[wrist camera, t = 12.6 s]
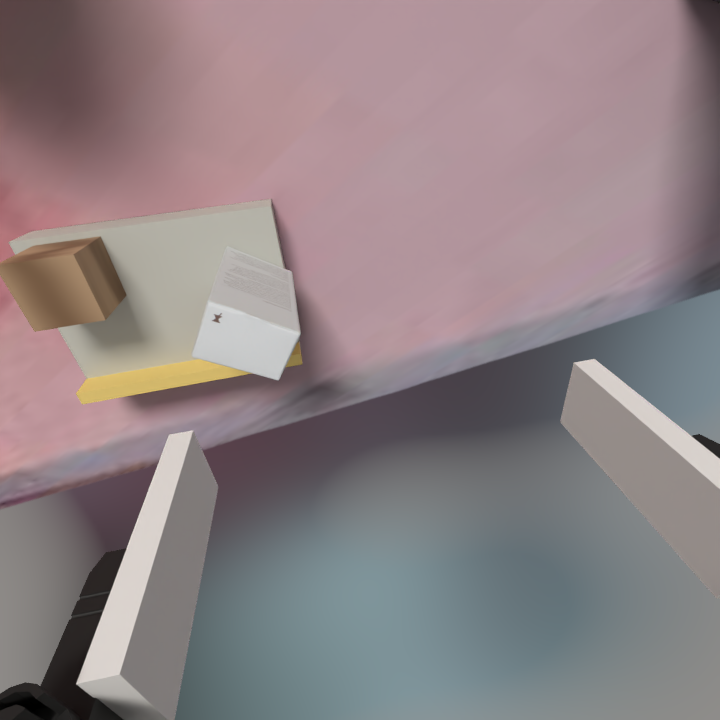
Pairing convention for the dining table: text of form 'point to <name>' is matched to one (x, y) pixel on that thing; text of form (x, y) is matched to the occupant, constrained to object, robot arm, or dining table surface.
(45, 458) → the dining table surface
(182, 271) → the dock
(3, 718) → the robot arm
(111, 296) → the tan wooden cube
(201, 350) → the skincare box
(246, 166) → the dining table surface
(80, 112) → the dining table surface
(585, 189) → the dining table surface
